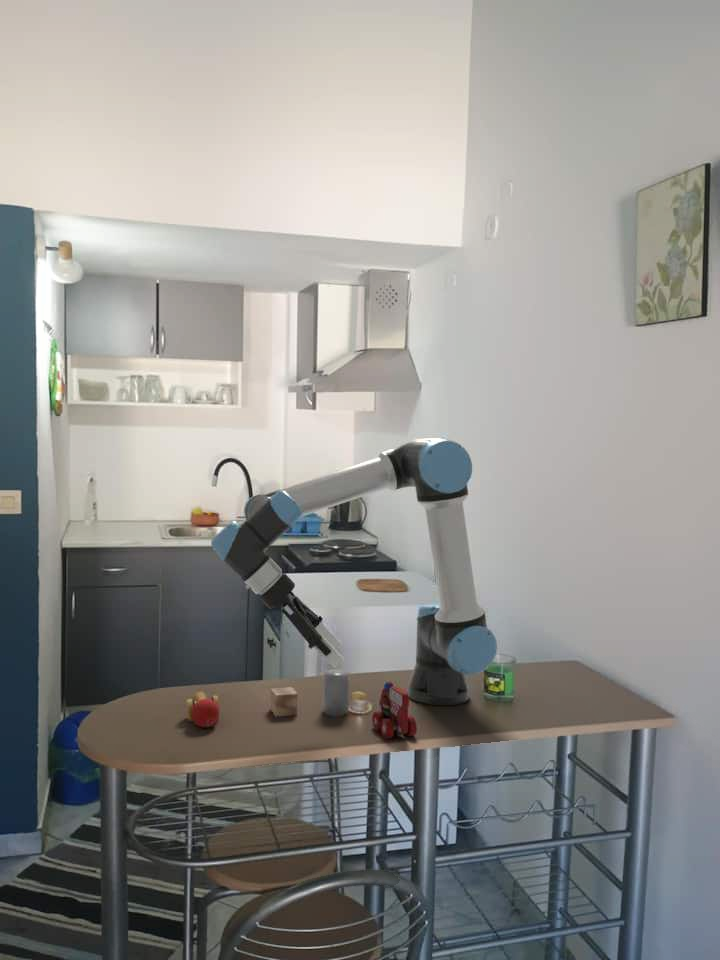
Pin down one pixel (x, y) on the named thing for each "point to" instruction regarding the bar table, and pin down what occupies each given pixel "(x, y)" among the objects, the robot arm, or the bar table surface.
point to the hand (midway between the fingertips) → (338, 655)
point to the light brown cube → (283, 701)
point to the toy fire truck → (393, 713)
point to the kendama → (203, 710)
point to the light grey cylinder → (336, 692)
